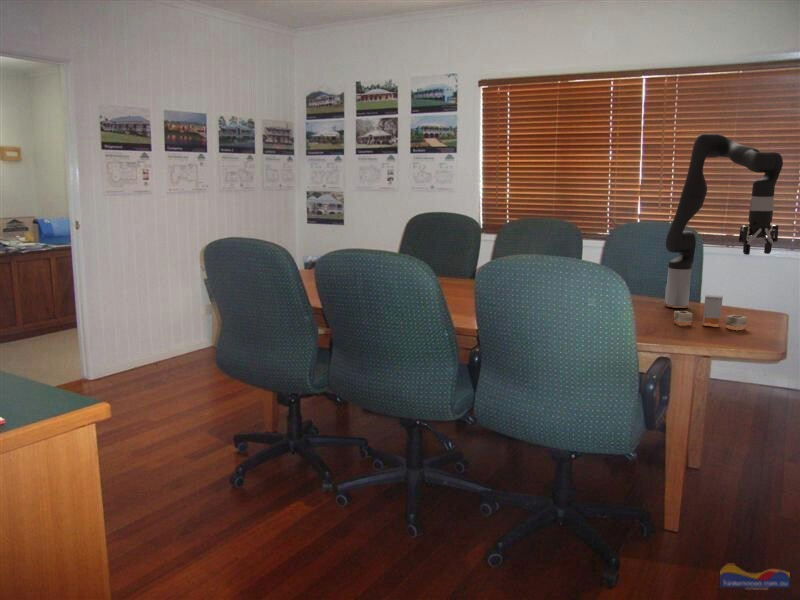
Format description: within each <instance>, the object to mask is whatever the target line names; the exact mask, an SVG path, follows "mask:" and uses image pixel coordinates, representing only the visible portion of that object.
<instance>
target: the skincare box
mask: <svg viewBox="0 0 800 600" xmlns="http://www.w3.org/2000/svg"><path fill="white" fill-rule="evenodd" d="M723 298H724V297H723V295H717V294H705V296H704V305H703V316H702V324H703V323H711V324H720V325H721V319H722V318H721V316H722V309H723V308H722V306H723Z"/></svg>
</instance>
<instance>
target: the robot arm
mask: <svg viewBox="0 0 800 600" xmlns="http://www.w3.org/2000/svg"><path fill="white" fill-rule="evenodd" d="M724 157H725V158H728V159H729V160H730V161H731V162H732V163H734V164H737V165H739V166H742V167H746V168H747V170H749V171H751V172H755V173H760V174H761V173H762V174H763V175H762V178H759V179H756V180H754V181H753V182H752V190H751V196H750V197H751V199H750V203H749V210H748V211H749V212H748V223H749V224H748V226H747V225H740V229H739V236H738V242H739V243H742V245H743V247H742V248H743V249H742V252H743V255H746V256H750V254H751V243H752V242H753V241H754V240H755V239H756V238H758V239H760V238H762V239H763V240H764V242H765V243H764V247H763V248H764V251H763V254H765V255H770V254H771V252H772V247H773V244H774V243H776V242H778V240H779V239H778V237H779V225H778V224H771V223H772V222H773V215H774V208H775V207H774V206H775V198H774V197H775V189H776V184H777V182H778V178H779V176H780V174H781V173H782V172H781V171H782V169H783V165H784V161H783V156H782V155H781V154H780V153H779V152H775V151H774V152H773V151H772V152H770V151H767V152H764V151H763V152H761V151H760V150H758V148H755V147H751V146H748V145H744V144H740V143H738V142H736V141H733V140H732V139H730V138H728V137H727V136H725V135H722V134H720V133H699V135H698V136H697V137H696V139H695V140H694V143H693V146H692V151H691V157H690V159H689V161H690V163H689V166H688V171H687V173H686V178H685V182H684V185H683V187H682V191H681V194H680V197H679V201H678V206H677V209H676V211H675V214H674V218H673V220H672V222H671V225H670V227H669V230H668V233H667V235H666V239H665V248H666V250H667V251H668V252H669V253H671V254H672V253H679V254H678V255H677V256H676V257H674V258H672V259H671V260H669V262H668V265H667V280H666V282H667V283H666V284H665V292H664V293H665V294H664V303H665V302H666V304H669V305H674V306H687V305H688V306H689V302H690V289H691V280H692V279H691V278H692V277H691V276H692V267H693V266H692V265H693V263H694V260H695V251H696V246H697V245H696V243H697V241H696V240H697V238H696V235H695V233H694V232H693V231H692V230H685V228H686V227H687V225H688V223H689V222H690V220H691V219H693V217H694V216H696V214H698V212H699V211H700V210H701V208H702V207H703V206H704V203H705V199H706V196H707V193H708V185H707V182H706V179H705V176H704V166H705V162H706V159H707V158H711V159H712V158H713V159H714V158H724Z"/></svg>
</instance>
